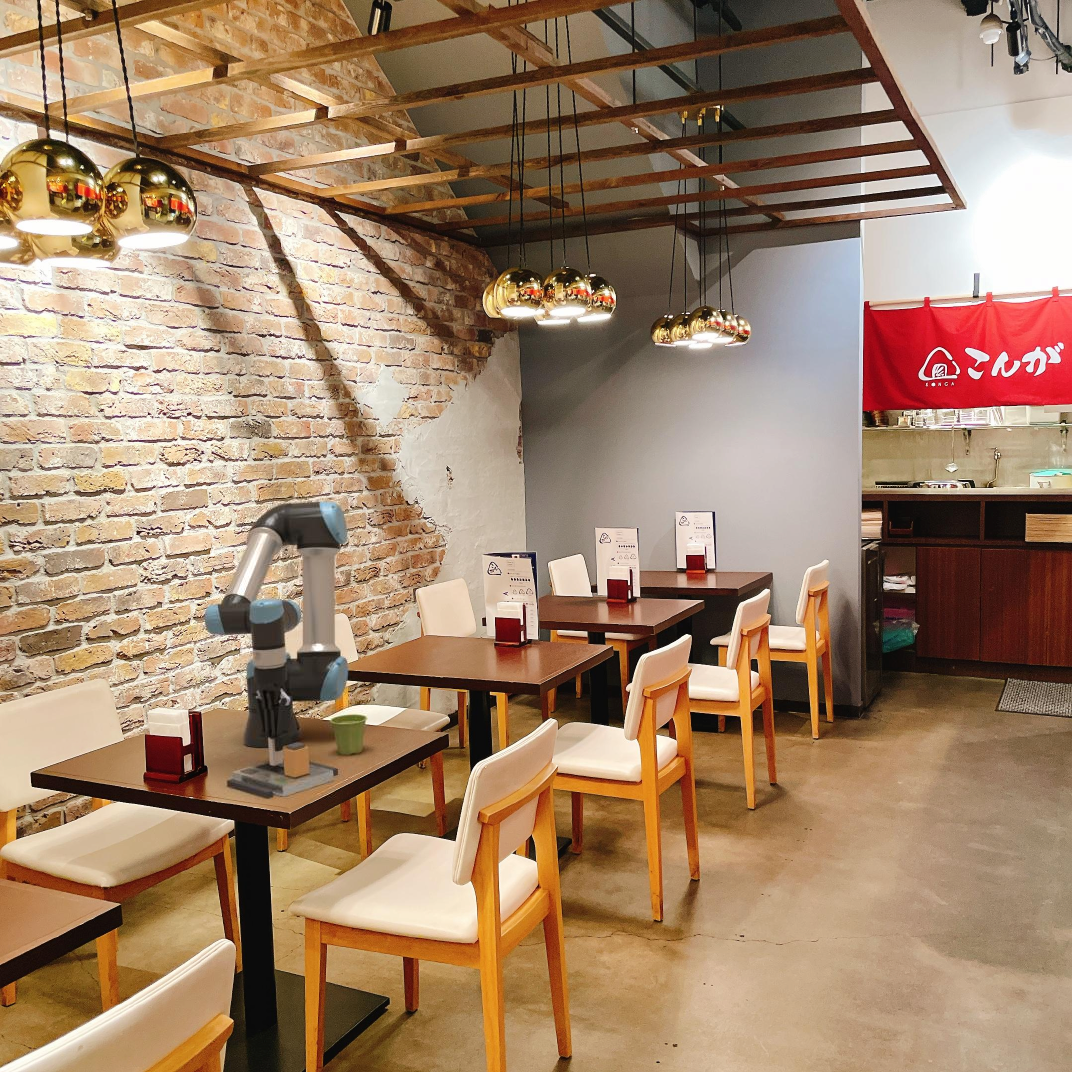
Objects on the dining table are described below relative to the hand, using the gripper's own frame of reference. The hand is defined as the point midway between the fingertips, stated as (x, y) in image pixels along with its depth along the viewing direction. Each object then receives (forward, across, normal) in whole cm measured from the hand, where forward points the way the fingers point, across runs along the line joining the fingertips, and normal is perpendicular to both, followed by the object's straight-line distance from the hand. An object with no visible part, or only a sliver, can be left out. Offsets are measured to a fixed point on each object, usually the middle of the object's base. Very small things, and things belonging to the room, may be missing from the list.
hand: (276, 763), depth 237 cm
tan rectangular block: (+1, +9, -1) cm, 9 cm away
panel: (+4, +3, -1) cm, 5 cm away
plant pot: (+4, -3, +24) cm, 25 cm away
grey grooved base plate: (+4, +3, -1) cm, 5 cm away
